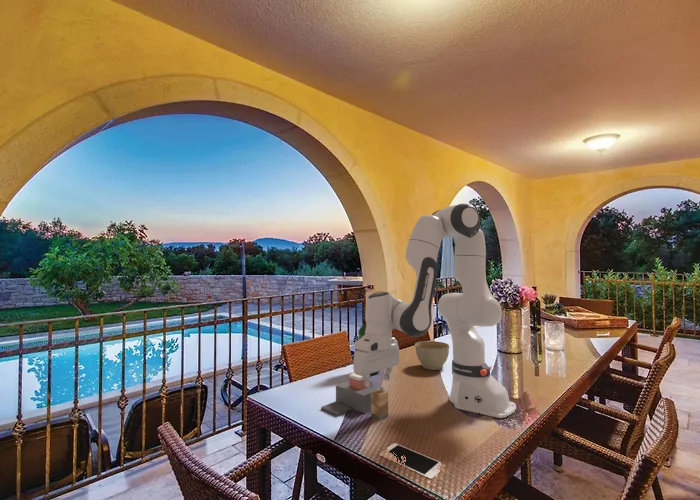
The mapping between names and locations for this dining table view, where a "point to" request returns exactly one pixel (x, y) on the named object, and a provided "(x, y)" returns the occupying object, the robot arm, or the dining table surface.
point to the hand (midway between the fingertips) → (377, 383)
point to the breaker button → (356, 382)
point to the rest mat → (336, 408)
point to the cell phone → (416, 460)
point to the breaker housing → (355, 396)
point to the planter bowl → (432, 354)
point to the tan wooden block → (379, 404)
